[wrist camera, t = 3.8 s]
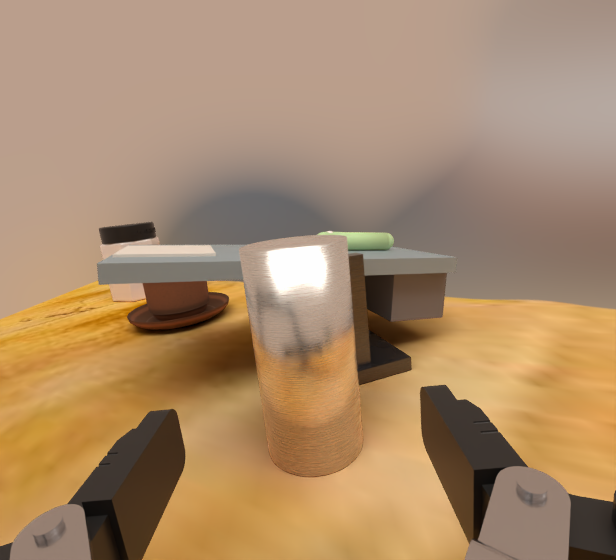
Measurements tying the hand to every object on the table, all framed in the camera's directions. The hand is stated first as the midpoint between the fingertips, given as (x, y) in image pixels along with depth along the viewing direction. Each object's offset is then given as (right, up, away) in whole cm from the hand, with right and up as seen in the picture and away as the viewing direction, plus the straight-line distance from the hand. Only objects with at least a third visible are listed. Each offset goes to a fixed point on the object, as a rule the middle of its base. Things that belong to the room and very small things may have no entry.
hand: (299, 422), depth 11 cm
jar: (-28, +2, +49) cm, 56 cm away
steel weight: (+1, -4, +8) cm, 9 cm away
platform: (-2, +2, +19) cm, 19 cm away
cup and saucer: (-16, -1, +33) cm, 36 cm away
